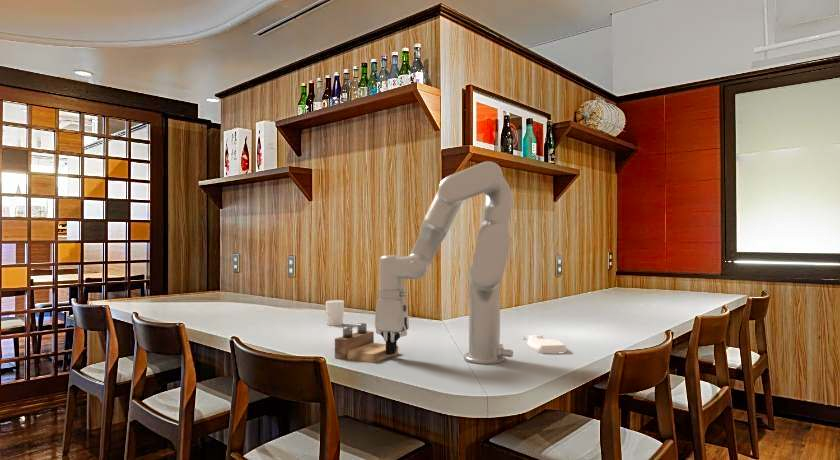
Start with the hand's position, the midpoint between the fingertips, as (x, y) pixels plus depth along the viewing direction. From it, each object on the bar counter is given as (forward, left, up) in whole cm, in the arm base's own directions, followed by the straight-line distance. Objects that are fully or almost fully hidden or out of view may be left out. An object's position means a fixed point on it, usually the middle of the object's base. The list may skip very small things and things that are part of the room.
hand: (391, 353), depth 163 cm
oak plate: (+7, 0, -2) cm, 7 cm away
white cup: (+54, -42, -2) cm, 68 cm away
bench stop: (+14, 0, -1) cm, 14 cm away
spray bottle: (-37, -41, -2) cm, 55 cm away
